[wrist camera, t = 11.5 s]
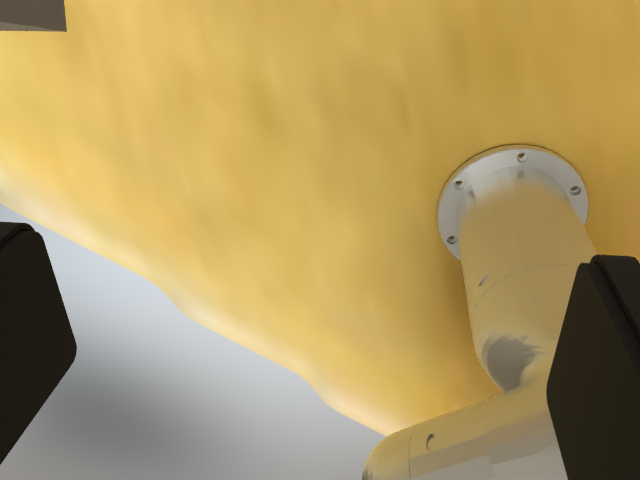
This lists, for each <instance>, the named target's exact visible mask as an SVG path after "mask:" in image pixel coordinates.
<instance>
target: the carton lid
mask: <svg viewBox="0 0 640 480" xmlns="http://www.w3.org/2000/svg"><path fill="white" fill-rule="evenodd" d="M0 31H61V32H67V29H66V18H65V7H64V0H0Z"/></svg>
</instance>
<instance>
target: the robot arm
mask: <svg viewBox="0 0 640 480" xmlns="http://www.w3.org/2000/svg"><path fill="white" fill-rule="evenodd" d="M520 153H524V154H523V155H522V156H518V155H519V154H520ZM457 181H461V182H460V183H456V182H457ZM574 186H576V187H575V188H572V187H574ZM588 209H589V205H588V195H587V192H586V189H585V186H584V183H583V181H582V179H581V178H580V176H579V174H578V173H577V172H576V170H575V169H574V168H573V167H572V165H571V164H570V163H569V162H567V161H566V160H565V159H563V158H562V157H561V156H560V155H558V154H556V153H554V152H551V151H549V150H547V149H544V148H540V147H536V146H531V145H519V144H518V145H507V146H501V147H497V148H493V149H490V150H487V151H485V152H483V153H480V154H478V155H476V156H474V157H473V158H471V159H470V160H468V161H467V162H465V163H464V164H462V165H461V166H460V167H459V168H458V169H457V170H456V171H455V172H454V173H453V174H452V176H451V177H450V178H449V180H448V181H447V183H446V184H445V186H444V188H443V190H442V193H441V195H440V198H439V202H438V207H437V221H438V228H439V232H440V235H441V238H442V241H443V242H444V244H445V245H446V247H447V249H448V250H449V251H450V252H451V253H452V254H453V255H454V256H455V258H456V259H458V260H459V261H461V264H462V271H463V277H464V284H465V291H466V298H467V305H468V311H469V318H470V325H471V331H472V337H473V343H474V348H475V351H476V355H477V357H478V360H479V362H480V364H481V366H482V368H483V369H484V371H485V372H486V374H487V375H488V376H489V377H490V379H491V380H492V381H493V382H494V384H495V385H496V386H497V387H498V388H500V389H501V390H502V391H503V392H504V393H501V394H499V395H496V396H493V397H490V398H488V399H487V400H485V401H482V402H479V403H476V404H473V405H471V406H468V407H465V408H462V409H459V410H456V411H453V412H450V413H447V414H444V415H441V416H438V417H436V418H433V419H430V420H427V421H424V422H422V423H419V424H416V425H413V426H410V427H408V428H405V429H403V430H400V431H398V432H396V433H393V434H391V435H390V436H388V437H386V438H385V439H383V440H382V441H381V442H379V444H377V445H376V447H374V449H373V450H372V451H371V453H370V454H369V456H368V458H367V460H366V463H365V466H364V470H363V475H362V480H640V264H639V262H638V261H637V259H636V258H635V257H631V256H613V255H598V253H597V251H596V249H595V247H594V246H593V244H592V242H591V240H590V238H589V236H588V234H587V232H586V230H585V229H584V226H585V223H586V221H587V215H588ZM450 236H453V237H450ZM76 349H77V346H76V342H75V338H74V335H73V332H72V329H71V326H70V323H69V319H68V316H67V313H66V310H65V307H64V303H63V301H62V297H61V294H60V291H59V288H58V284H57V281H56V278H55V275H54V272H53V269H52V265H51V262H50V259H49V256H48V253H47V250H46V246H45V243H44V240H43V238H42V236H41V235H40V234H39V233H38V232H35V230H34V229H33V228H32V227H31V225H29V224H26V223H12V222H0V464H1V463H2V462H3V460H4V459H5V457H6V456H7V454H8V453H9V452H10V450H11V449H12V448H13V446H14V445H15V443H16V442H17V441H18V439H19V438H20V436H21V435H22V434H23V432H24V430H25V429H26V428H27V427H28V425H29V424H30V422H31V421H32V420H33V418H34V417H35V415H36V414H37V413H38V411H39V410H40V408H41V407H42V406H43V404H44V403H45V401H46V400H47V399H48V397H49V396H50V394H51V393H52V392H53V390H54V389H55V387H56V386H57V385H58V383H59V382H60V380H61V379H62V377H63V376H64V375H65V373H66V372H67V371H68V369H69V368H70V366H71V364H72V363H73V362H74V359H75V356H76Z"/></svg>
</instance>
